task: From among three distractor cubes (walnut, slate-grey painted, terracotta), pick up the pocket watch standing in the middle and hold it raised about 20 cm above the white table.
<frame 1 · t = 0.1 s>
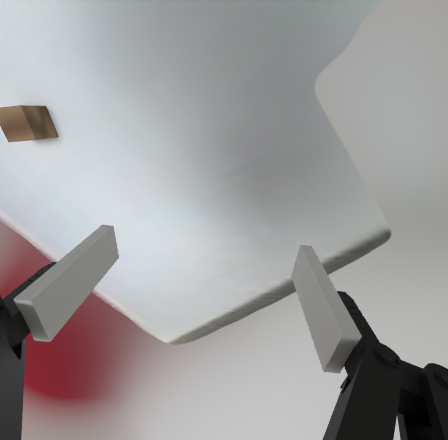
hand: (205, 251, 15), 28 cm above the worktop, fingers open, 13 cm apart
walnut cube: (40, 123, 39), on the worktop
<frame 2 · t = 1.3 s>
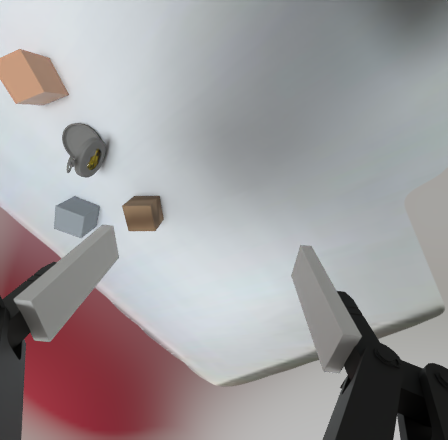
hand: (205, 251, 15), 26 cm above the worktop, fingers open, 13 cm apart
walnut cube: (149, 207, 42), on the worktop
pocket watch: (92, 147, 38), on the worktop
slate cube: (86, 211, 43), on the worktop
terracotta cube: (46, 82, 33), on the worktop
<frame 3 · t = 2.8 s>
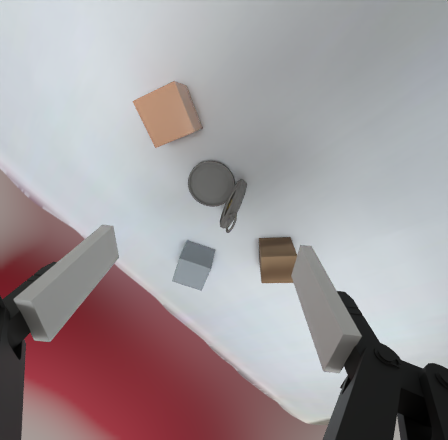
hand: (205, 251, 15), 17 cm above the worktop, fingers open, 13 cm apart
walnut cube: (274, 250, 35), on the worktop
pocket watch: (219, 186, 31), on the worktop
slate cube: (197, 255, 37), on the worktop
terracotta cube: (177, 115, 27), on the worktop
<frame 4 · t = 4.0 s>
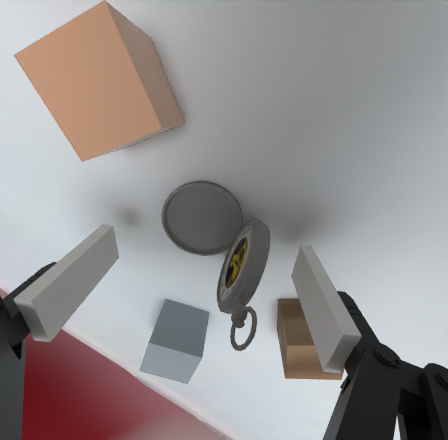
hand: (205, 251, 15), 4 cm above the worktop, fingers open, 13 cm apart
walnut cube: (301, 314, 23), on the worktop
pocket watch: (215, 223, 19), on the worktop
slate cube: (182, 318, 25), on the worktop
terracotta cube: (137, 98, 14), on the worktop
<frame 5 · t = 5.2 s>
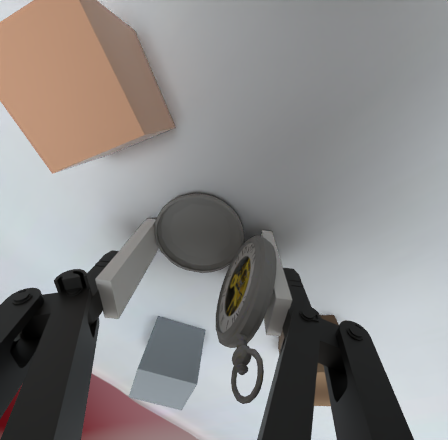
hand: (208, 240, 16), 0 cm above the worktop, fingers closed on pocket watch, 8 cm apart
walnut cube: (304, 331, 21), on the worktop
pocket watch: (214, 237, 17), on the worktop, touching gripper
slate cube: (176, 336, 23), on the worktop
terracotta cube: (121, 100, 13), on the worktop
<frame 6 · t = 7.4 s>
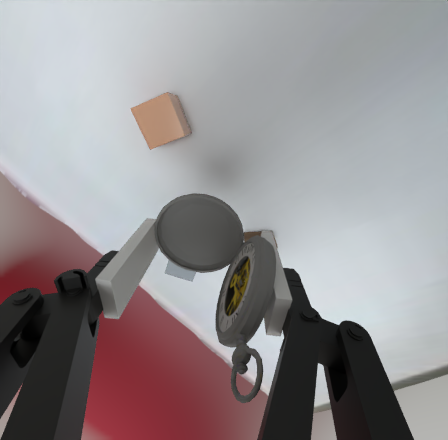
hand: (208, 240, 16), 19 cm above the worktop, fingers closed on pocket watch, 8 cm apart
walnut cube: (258, 243, 39), on the worktop
pocket watch: (214, 237, 17), point 19 cm above the worktop, touching gripper
slate cube: (187, 250, 40), on the worktop
terracotta cube: (169, 121, 30), on the worktop
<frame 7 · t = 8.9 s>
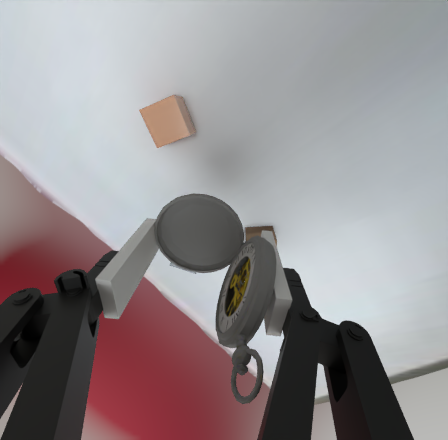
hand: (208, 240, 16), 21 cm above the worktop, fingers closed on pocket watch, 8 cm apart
walnut cube: (259, 237, 41), on the worktop
pocket watch: (214, 237, 17), point 21 cm above the worktop, touching gripper
terracotta cube: (174, 121, 32), on the worktop
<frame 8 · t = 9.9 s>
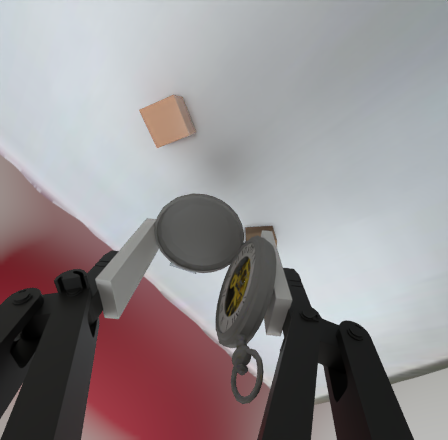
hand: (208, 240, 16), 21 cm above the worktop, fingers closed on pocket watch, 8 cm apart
walnut cube: (259, 237, 41), on the worktop
pocket watch: (214, 237, 17), point 21 cm above the worktop, touching gripper
terracotta cube: (174, 121, 32), on the worktop
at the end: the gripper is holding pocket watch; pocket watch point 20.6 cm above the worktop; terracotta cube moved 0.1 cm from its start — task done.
